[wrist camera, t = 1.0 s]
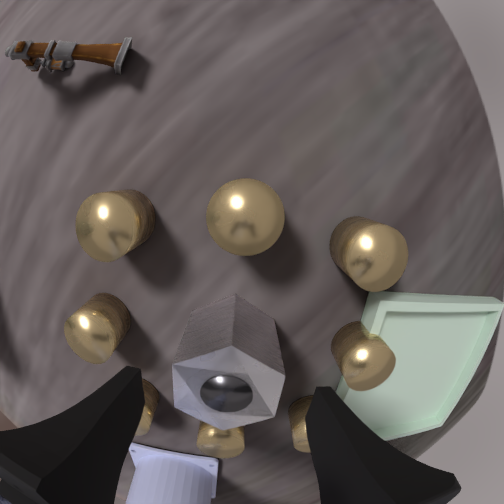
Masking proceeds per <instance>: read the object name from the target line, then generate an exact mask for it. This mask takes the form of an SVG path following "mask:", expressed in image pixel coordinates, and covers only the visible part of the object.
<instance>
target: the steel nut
mask: <svg viewBox="0 0 504 504" xmlns="http://www.w3.org/2000/svg"><path fill="white" fill-rule="evenodd" d="M172 371H173V391H174V406H175V408H177V409H179V410H181V411H183V412H185V413H187V414H189V415H191V416H193V417H195V418H197V419H199V420H201V421H203V422H205V423H208V424H210V425H212V426H214V427H216V428H219V429H221V430H226V429H231V428H235V427H239V426H243V425H247V424H251V423H255V422H259V421H262V420H266V419H269V418H273V417H275V414H276V410H277V406H278V403H279V399H280V395H281V392H282V388H283V384H284V380H285V376H286V375H285V371H284V366H283V361H282V356H281V351H280V346H279V341H278V336H277V331H276V327H275V322H274V319H273V318H272V317H270V316H269V315H267V314H266V313H264V312H263V311H261V310H260V309H258V308H257V307H255V306H254V305H252V304H251V303H249V302H248V301H246V300H245V299H243V298H242V297H240V296H239V295H237V294H236V293H235V294H233V295H230V296H227V297H225V298H222V299H220V300H217V301H215V302H212V303H209V304H207V305H204V306H202V307H199V308H196V309H194V310H192V312H191V315H190V318H189V320H188V323H187V326H186V328H185V331H184V334H183V336H182V339H181V342H180V344H179V347H178V350H177V353H176V355H175V358H174V361H173V364H172Z"/></svg>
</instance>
